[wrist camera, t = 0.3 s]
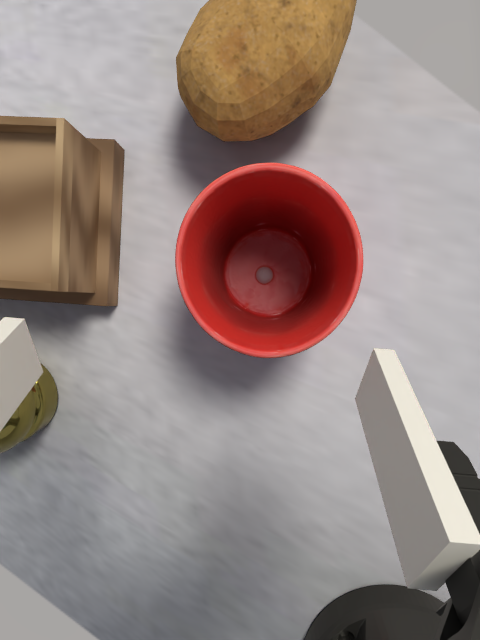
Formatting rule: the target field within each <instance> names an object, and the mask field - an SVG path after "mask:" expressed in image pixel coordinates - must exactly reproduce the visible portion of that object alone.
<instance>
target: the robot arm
mask: <svg viewBox="0 0 480 640" xmlns="http://www.w3.org/2000/svg"><path fill="white" fill-rule="evenodd" d="M42 373H43V369H42V366H41V364H40V361H39V358H38V355H37V352H36V350H35V347H34V344H33V341H32V338H31V335H30V333H29V330H28V327H27V324H26V321H25V319H22V318H10V317H4V318H3V319H2V320H1V321H0V431H1V430H2V429H3V427H4V426H5V425H6V423H7V422H8V420H9V419H10V418H11V416H12V415H13V413H14V412H15V411H16V409H17V408H18V407H19V405H20V404H21V402H22V401H23V400H24V398H25V397H26V396H27V394H28V393H29V391H30V390H31V389H32V387H33V386H34V384H35V383H36V382H37V380H38V379H39V378H40V376H41V375H42ZM355 400H356V404H357V407H358V411H359V415H360V418H361V422H362V426H363V429H364V433H365V436H366V440H367V444H368V447H369V451H370V454H371V458H372V462H373V465H374V469H375V473H376V476H377V480H378V483H379V487H380V491H381V494H382V498H383V501H384V505H385V509H386V512H387V516H388V520H389V523H390V527H391V530H392V534H393V538H394V541H395V545H396V548H397V552H398V556H399V559H400V563H401V567H402V570H403V574H404V577H405V581H406V585H407V587H405V586H398V585H375V586H369V587H364V588H361V589H357V590H354V591H352V592H349V593H347V594H345V595H343V596H341V597H340V598H338V599H336V600H335V601H334V602H332V603H331V604H330V605H328V606H327V607H326V608H325V609H324V610H323V611H322V612H321V613H320V614H319V616H318V617H317V618H316V619H315V621H314V622H313V624H312V625H311V627H310V629H309V631H308V633H307V636H306V638H305V640H480V479H478V478H477V473H476V471H475V470H474V468H473V466H472V464H471V462H470V460H469V458H468V457H467V456H466V455H465V454H464V453H463V452H462V450H461V449H460V448H459V447H458V446H457V445H456V444H455V443H454V442H446V441H436V439H435V437H434V435H433V432H432V430H431V428H430V426H429V424H428V422H427V419H426V417H425V415H424V413H423V411H422V409H421V406H420V404H419V402H418V400H417V398H416V396H415V394H414V391H413V389H412V387H411V385H410V383H409V381H408V378H407V376H406V374H405V372H404V370H403V368H402V366H401V363H400V361H399V359H398V357H397V355H396V353H395V350H389V349H377V348H374V349H373V352H372V354H371V357H370V360H369V362H368V365H367V368H366V371H365V373H364V376H363V379H362V381H361V384H360V387H359V389H358V392H357V395H356V397H355ZM445 582H446V585H447V588H448V591H449V593H450V596H451V598H450V599H448V600H447V601H446V602H445V603H443V602H442V601H440V600H439V599H437V598H435V597H433V596H432V595H429V594H427V593H425V592H422V591H420V590H432V591H437V590H438V589H439V588H440V587H441V586H442V585H443V584H444V583H445ZM417 589H420V590H417Z"/></svg>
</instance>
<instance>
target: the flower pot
mask: <svg viewBox="0 0 480 640" xmlns="http://www.w3.org/2000/svg"><path fill="white" fill-rule="evenodd" d="M175 265H176V274H177V280H178V285H179V288H180V291H181V294H182V297H183V299H184V302H185V304H186V306H187V308H188V309H189V311H190V313H191V314H192V316H193V317H194V319H195V320H196V321H197V323H198V324H199V325H200V326H201V327H202V329H203V330H204V331H206V332H207V333H208V334H209V335H210V336H211V337H212V338H214V339H215V340H216V341H218V342H219V343H221V344H223V345H224V346H226V347H228V348H230V349H232V350H234V351H237V352H239V353H242V354H245V355H249V356H253V357H259V358H278V357H285V356H289V355H293V354H296V353H299V352H302V351H304V350H307V349H308V348H310V347H312V346H314V345H316V344H317V343H319V342H320V341H322V340H323V339H324V338H326V337H327V336H328V335H329V334H331V333H332V332H333V331H334V330H335V329H336V327H337V326H338V325H339V324H340V323H341V322H342V320H343V319H344V318H345V316H346V315H347V313H348V311H349V310H350V308H351V306H352V304H353V302H354V300H355V298H356V295H357V293H358V290H359V286H360V282H361V278H362V272H363V248H362V241H361V237H360V233H359V230H358V227H357V224H356V221H355V219H354V217H353V215H352V213H351V211H350V209H349V208H348V206H347V205H346V203H345V201H344V200H343V199H342V198H341V196H340V195H339V194H338V193H337V192H336V191H335V190H334V189H333V188H332V187H331V186H330V185H328V184H327V183H326V182H325V181H323V180H322V179H321V178H319V177H317V176H316V175H314V174H313V173H311V172H309V171H306V170H304V169H302V168H299V167H295V166H291V165H287V164H281V163H256V164H250V165H246V166H242V167H239V168H237V169H234V170H232V171H230V172H228V173H226V174H224V175H222V176H220V177H219V178H217V179H216V180H214V181H213V182H212V183H210V184H209V185H208V186H207V187H206V188H205V189H204V190H203V191H202V192H201V193H200V194H199V195H198V196H197V197H196V199H195V200H194V202H193V203H192V204H191V206H190V208H189V209H188V211H187V213H186V215H185V217H184V219H183V221H182V224H181V227H180V230H179V234H178V238H177V244H176V254H175Z"/></svg>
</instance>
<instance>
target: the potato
mask: <svg viewBox="0 0 480 640" xmlns="http://www.w3.org/2000/svg"><path fill="white" fill-rule="evenodd" d="M355 6H356V0H209V1H208V2H207V3H206V4H205V5H204V6H203V7H202V8H201V9H200V11H199V13H198V14H197V16H196V18H195V20H194V22H193V24H192V26H191V27H190V29H189V31H188V33H187V35H186V37H185V39H184V42H183V44H182V46H181V48H180V50H179V53H178V55H177V57H176V65H177V81H178V89H179V93H180V96H181V99H182V100H183V102H184V104H185V105H186V107H187V109H188V111H189V112H190V114H191V116H192V117H193V119H194V121H195V123H196V124H197V126H199V127H200V128H202V129H204V130H205V131H207V132H209V133H211V134H212V135H214V136H216V137H217V138H219V139H221V140H222V141H253V140H256V139H259V138H262V137H266V136H269V135H272V134H273V133H275V132H276V131H278V130H280V129H281V128H283V127H285V126H286V125H288V124H289V123H291V122H292V121H293V120H295V119H296V118H297V117H299V116H300V115H301V114H303V113H304V112H305V111H307V110H308V109H310V108H311V107H313V106H314V105H315V104H316V102H317V101H318V100H319V99H320V97H321V96H322V95H323V94H324V93H325V91H326V90H327V89H328V88H329V87H330V85H331V83H332V80H333V77H334V74H335V72H336V69H337V66H338V64H339V61H340V58H341V55H342V53H343V50H344V47H345V44H346V41H347V39H348V36H349V33H350V30H351V25H352V20H353V15H354V11H355Z"/></svg>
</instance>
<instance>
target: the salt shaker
mask: <svg viewBox="0 0 480 640" xmlns="http://www.w3.org/2000/svg"><path fill="white" fill-rule="evenodd" d="M40 364H41V363H40ZM41 366H42V369H43V373H42V375H41V376H40V378H39V379H38V380H37V382H36V383H35V384H34V386H33V387H32V389H31V390H30V391H29V393H28V394H27V396H26V397H25V398H24V400H23V401H22V402H21V404H20V405H19V407H18V408H17V409H16V411H15V412H14V413H13V415H12V416H11V418H10V419H9V420H8V422H7V423H6V425H5V426H4V427H3V429H2V430H1V431H0V453H3V452H6V451H8V450H9V449H11V448H13V447H14V446H15V445H17V444H18V443H20V442H22V441H25V440H26V439H28V438H30V437H31V436H32V435H33V434H35V433H37V432H38V431H40V430H41V429H43V428H44V427H45V426H46V425H47V424H48V423H49V422H50V421H51V419H52V417H53V416H54V413H55V411H56V407H57V400H58V395H57V388H56V384H55V382H54V379H53V377H52V376H51V374H50V373H49V371H48V370H47V369H46V368H45V367H44V366H43V365H42V364H41Z"/></svg>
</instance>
